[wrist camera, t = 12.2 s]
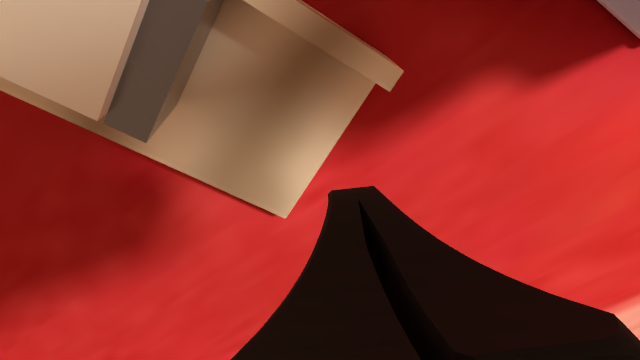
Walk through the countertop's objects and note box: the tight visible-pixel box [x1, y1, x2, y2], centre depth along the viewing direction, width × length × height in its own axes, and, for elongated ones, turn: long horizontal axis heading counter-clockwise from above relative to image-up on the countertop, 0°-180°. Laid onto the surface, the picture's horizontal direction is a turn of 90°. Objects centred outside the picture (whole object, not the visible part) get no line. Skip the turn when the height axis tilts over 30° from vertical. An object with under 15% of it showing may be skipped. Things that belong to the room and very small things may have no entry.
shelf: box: [0, 0, 404, 219], centre depth 15 cm, size 19×10×6 cm, turn 59°
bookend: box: [103, 0, 224, 143], centre depth 14 cm, size 2×5×4 cm, turn 149°
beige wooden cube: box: [0, 0, 149, 121], centre depth 13 cm, size 4×5×6 cm
